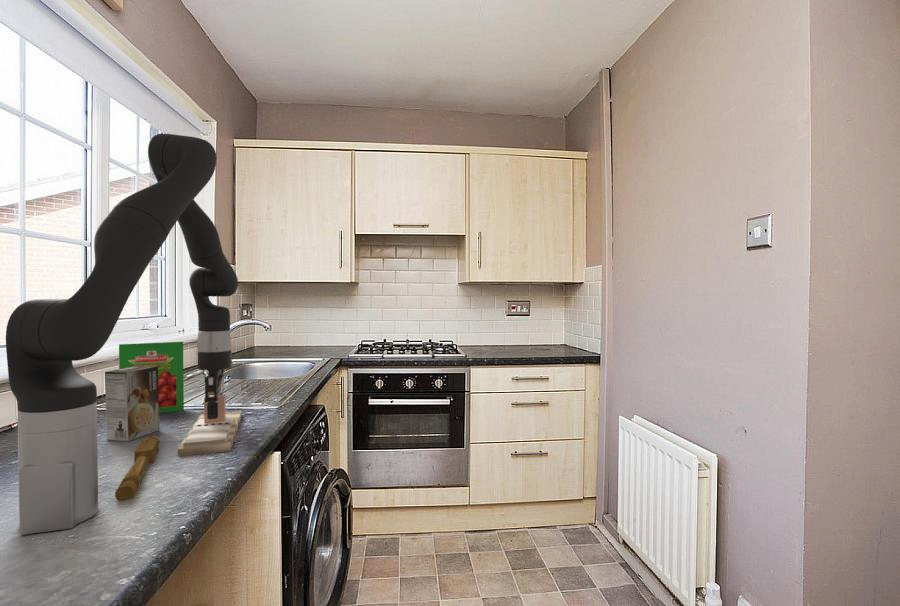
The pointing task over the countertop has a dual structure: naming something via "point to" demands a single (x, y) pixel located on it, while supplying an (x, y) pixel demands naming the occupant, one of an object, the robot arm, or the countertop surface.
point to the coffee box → (131, 402)
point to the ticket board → (210, 436)
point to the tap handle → (138, 468)
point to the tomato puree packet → (159, 369)
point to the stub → (221, 413)
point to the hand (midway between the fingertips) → (215, 414)
